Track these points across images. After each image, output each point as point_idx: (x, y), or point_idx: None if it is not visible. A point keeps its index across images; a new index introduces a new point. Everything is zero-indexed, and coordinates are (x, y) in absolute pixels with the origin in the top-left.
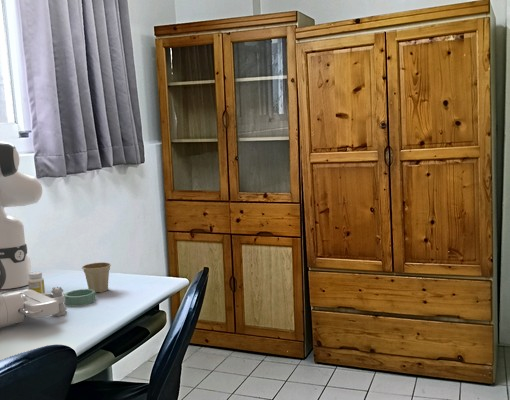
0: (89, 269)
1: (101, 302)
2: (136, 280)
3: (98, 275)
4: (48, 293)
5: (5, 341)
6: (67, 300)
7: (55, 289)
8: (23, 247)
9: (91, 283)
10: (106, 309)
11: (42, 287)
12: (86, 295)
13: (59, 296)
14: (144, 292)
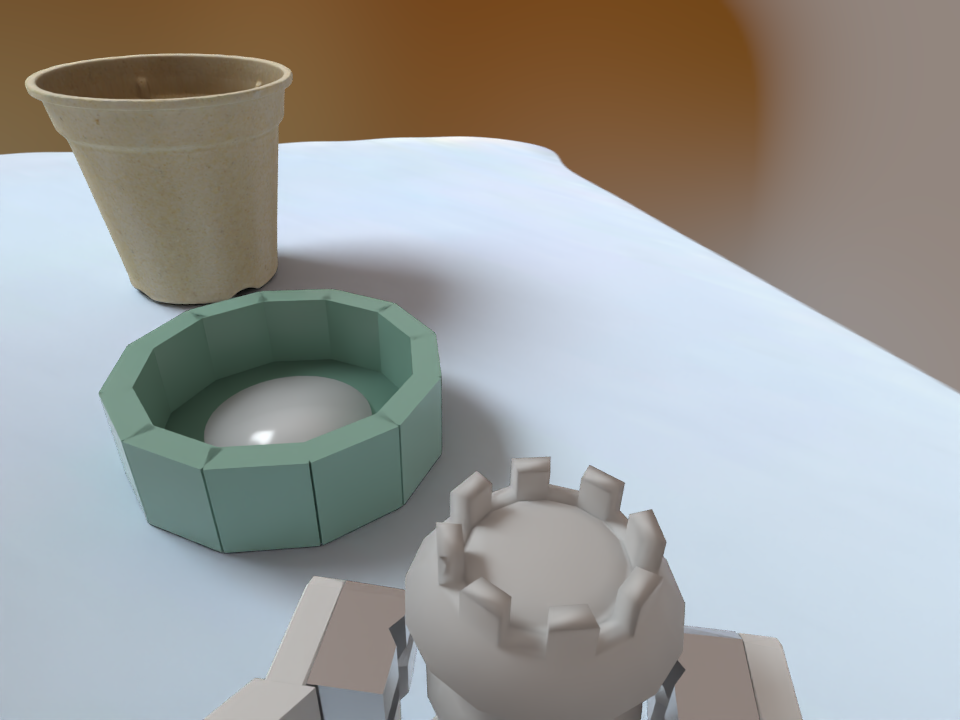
0: (181, 104)
1: (502, 384)
2: (293, 171)
3: (249, 156)
4: (233, 701)
5: None
6: (254, 504)
7: (574, 600)
8: None
9: (193, 234)
10: (757, 458)
11: None
12: (439, 375)
13: (732, 709)
14: (542, 229)
